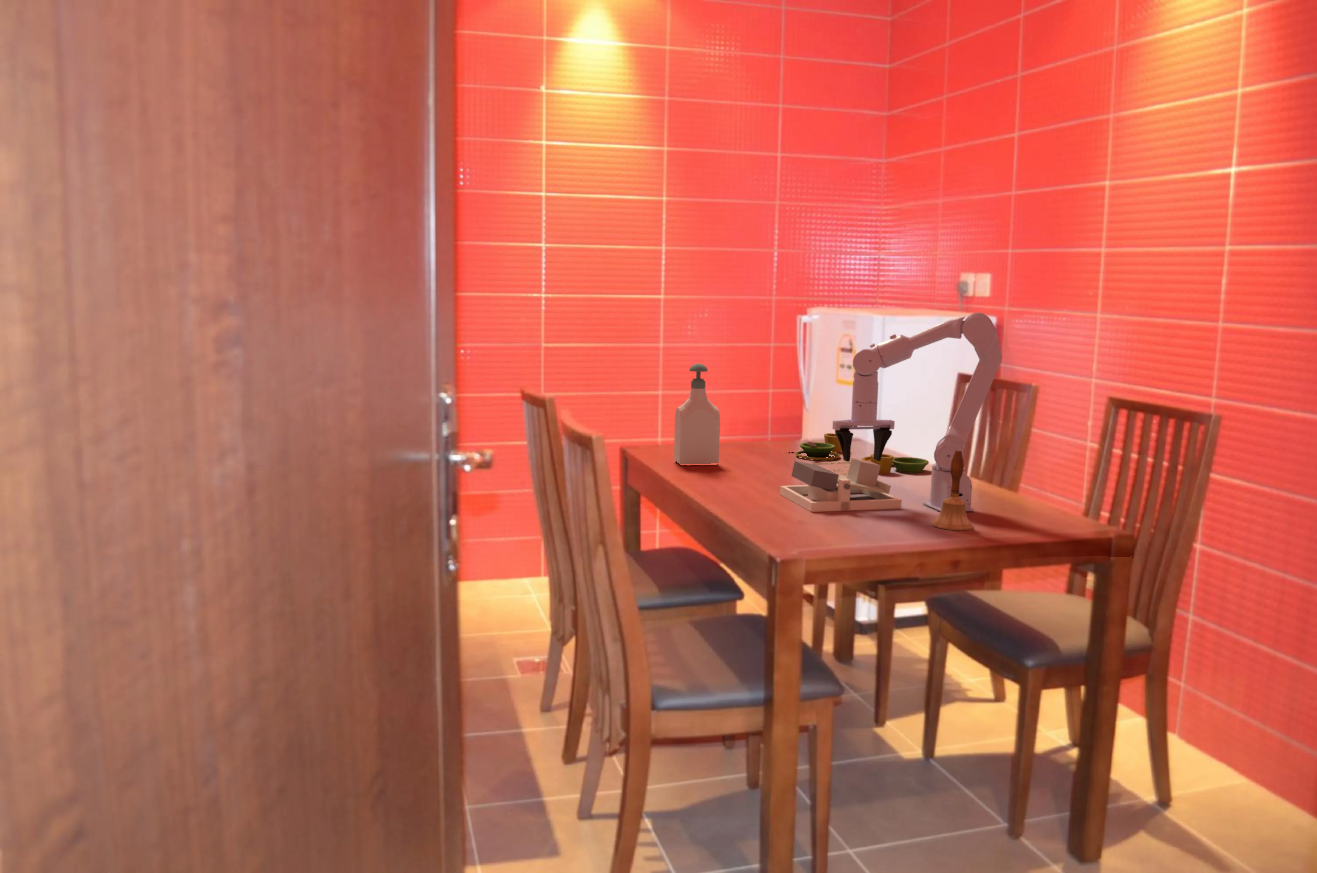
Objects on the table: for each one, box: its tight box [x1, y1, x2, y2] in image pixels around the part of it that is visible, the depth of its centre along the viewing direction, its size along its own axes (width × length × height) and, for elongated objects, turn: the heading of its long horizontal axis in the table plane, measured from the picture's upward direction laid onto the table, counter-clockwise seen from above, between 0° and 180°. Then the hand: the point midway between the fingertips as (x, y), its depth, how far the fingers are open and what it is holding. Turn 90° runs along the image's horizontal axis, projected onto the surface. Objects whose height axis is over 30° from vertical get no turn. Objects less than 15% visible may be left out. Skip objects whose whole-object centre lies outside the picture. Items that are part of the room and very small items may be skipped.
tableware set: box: [794, 432, 929, 476], centre depth 296 cm, size 41×28×6 cm
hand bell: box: [931, 451, 974, 531], centre depth 219 cm, size 8×8×16 cm
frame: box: [779, 479, 902, 513], centre depth 243 cm, size 21×22×7 cm
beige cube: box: [846, 457, 880, 487], centre depth 243 cm, size 5×5×5 cm
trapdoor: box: [791, 460, 891, 494], centre depth 242 cm, size 14×19×4 cm
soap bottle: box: [673, 363, 721, 465], centre depth 287 cm, size 11×8×27 cm
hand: (861, 460), depth 243 cm, fingers open, 7 cm apart
